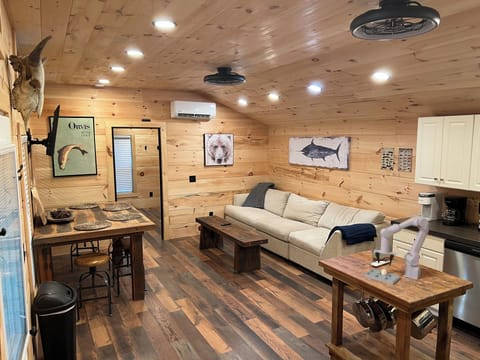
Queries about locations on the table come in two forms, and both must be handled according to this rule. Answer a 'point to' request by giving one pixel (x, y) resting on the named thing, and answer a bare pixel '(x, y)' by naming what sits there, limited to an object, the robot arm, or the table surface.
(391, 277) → the grey compartment tray
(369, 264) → the table surface
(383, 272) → the egg
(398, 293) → the table surface
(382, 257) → the food container
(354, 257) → the table surface
